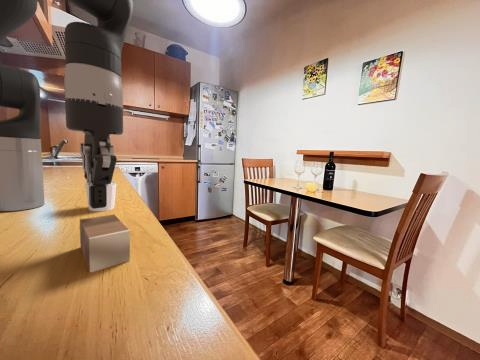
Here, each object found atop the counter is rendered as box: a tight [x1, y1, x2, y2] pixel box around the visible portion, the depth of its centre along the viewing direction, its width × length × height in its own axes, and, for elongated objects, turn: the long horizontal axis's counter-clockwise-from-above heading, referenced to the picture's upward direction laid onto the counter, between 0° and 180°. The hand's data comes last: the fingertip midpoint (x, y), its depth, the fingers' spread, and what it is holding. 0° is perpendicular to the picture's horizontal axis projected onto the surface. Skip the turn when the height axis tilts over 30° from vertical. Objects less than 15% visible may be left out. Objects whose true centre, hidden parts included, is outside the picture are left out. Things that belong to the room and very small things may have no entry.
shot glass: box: [84, 181, 117, 213], centre depth 54 cm, size 7×7×7 cm
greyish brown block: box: [79, 214, 131, 273], centre depth 32 cm, size 5×5×9 cm
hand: (98, 206), depth 34 cm, fingers closed
